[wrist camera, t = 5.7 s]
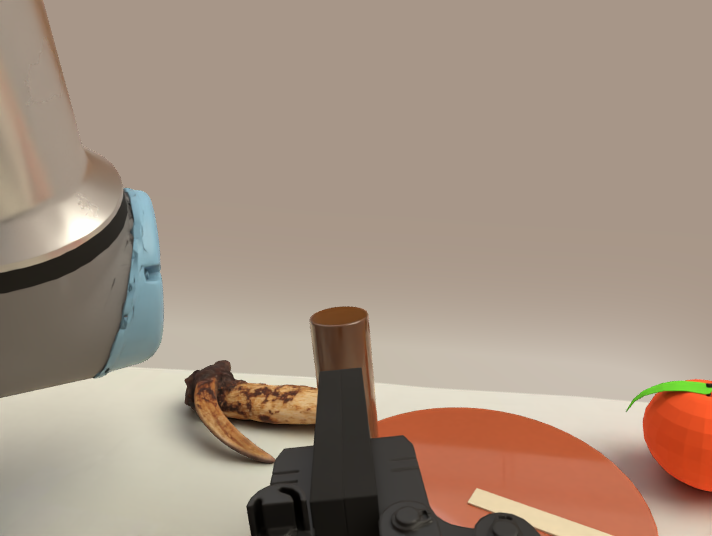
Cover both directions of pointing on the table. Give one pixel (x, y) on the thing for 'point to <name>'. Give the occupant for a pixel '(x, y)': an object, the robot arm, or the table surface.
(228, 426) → the lashed bone hook
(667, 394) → the clementine
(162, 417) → the table surface
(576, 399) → the table surface
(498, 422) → the orange disc
